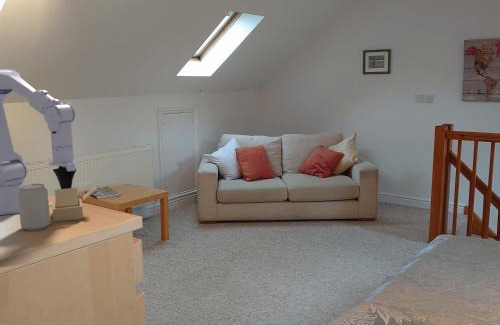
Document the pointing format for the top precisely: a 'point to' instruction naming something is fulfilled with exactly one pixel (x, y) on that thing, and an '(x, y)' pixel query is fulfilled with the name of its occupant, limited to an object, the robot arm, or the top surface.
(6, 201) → the robot arm
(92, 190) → the side flap
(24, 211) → the can
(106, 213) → the top surface
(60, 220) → the carton
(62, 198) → the long flap
